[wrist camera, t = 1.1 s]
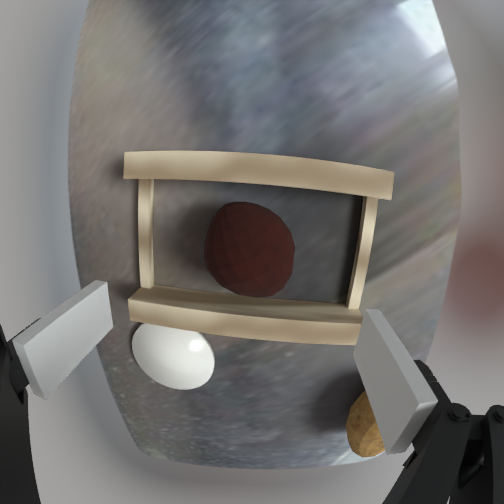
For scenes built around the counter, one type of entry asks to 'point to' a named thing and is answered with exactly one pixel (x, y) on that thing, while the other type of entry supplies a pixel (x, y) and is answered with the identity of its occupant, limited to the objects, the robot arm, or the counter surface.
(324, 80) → the counter surface
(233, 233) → the dark brown rounded piece
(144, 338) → the plate
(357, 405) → the potato
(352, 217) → the counter surface
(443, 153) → the counter surface
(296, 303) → the cradle
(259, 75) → the counter surface
